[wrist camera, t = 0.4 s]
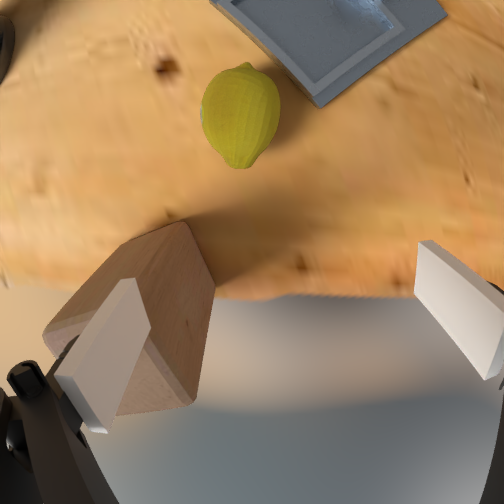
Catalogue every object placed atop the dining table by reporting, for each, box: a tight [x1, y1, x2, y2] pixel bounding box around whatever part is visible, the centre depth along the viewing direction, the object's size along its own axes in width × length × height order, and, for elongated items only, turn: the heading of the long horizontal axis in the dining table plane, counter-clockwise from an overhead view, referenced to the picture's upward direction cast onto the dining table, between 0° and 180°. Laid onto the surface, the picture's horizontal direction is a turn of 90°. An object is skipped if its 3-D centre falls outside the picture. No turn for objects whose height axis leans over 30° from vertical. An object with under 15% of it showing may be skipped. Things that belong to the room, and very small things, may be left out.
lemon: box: [200, 62, 281, 169], centre depth 29 cm, size 11×8×8 cm
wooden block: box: [42, 222, 215, 416], centre depth 30 cm, size 10×10×20 cm
